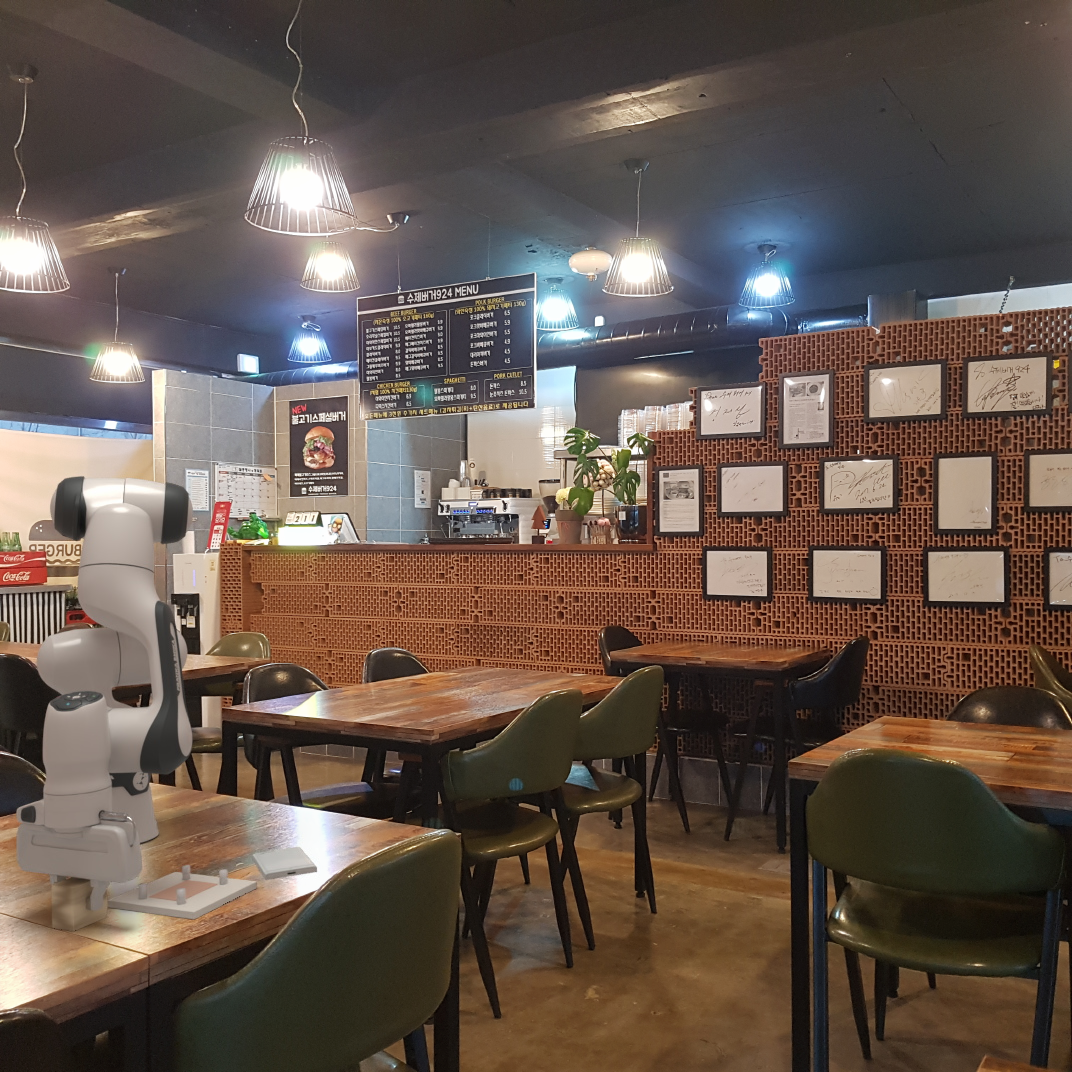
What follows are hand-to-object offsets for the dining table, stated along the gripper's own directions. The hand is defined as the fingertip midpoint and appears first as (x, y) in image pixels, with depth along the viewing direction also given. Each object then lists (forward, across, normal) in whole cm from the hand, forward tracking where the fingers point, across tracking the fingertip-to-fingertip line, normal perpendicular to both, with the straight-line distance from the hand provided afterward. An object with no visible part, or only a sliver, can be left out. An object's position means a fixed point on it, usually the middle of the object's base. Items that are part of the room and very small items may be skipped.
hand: (79, 907), depth 141 cm
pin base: (+2, -7, -13) cm, 15 cm away
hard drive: (+3, -12, -31) cm, 33 cm away
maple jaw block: (+2, 0, 0) cm, 2 cm away
